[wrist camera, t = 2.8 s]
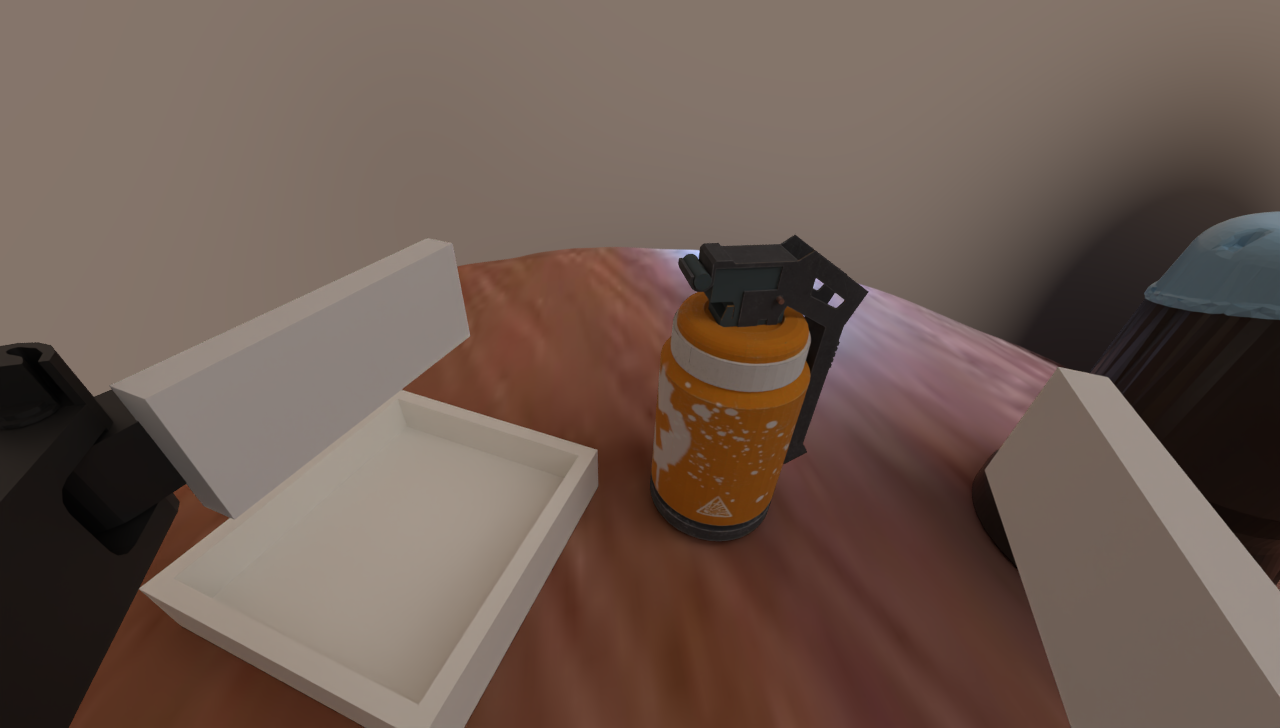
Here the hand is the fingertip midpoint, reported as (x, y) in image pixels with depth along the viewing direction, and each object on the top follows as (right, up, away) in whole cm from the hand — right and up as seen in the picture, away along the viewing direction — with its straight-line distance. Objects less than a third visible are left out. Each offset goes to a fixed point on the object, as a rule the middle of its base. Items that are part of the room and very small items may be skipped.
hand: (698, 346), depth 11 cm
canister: (+5, -10, +25) cm, 28 cm away
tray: (-16, -13, +20) cm, 29 cm away
